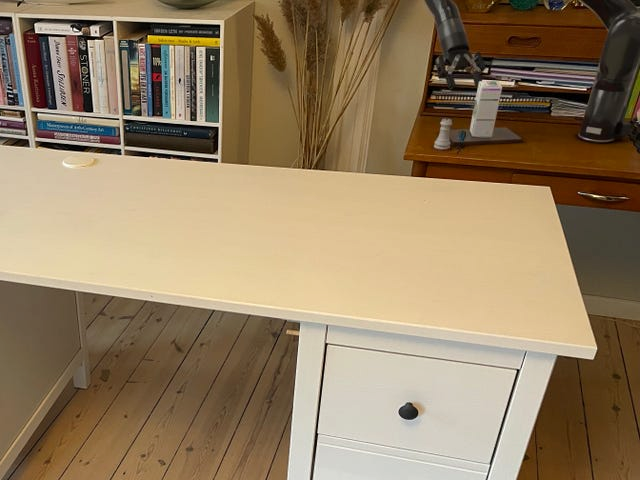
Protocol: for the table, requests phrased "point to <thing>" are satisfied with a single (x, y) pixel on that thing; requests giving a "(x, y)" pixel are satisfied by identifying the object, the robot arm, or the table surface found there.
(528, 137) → the table surface
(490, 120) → the syrup box
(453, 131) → the grey rectangular panel
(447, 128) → the rook chess piece
